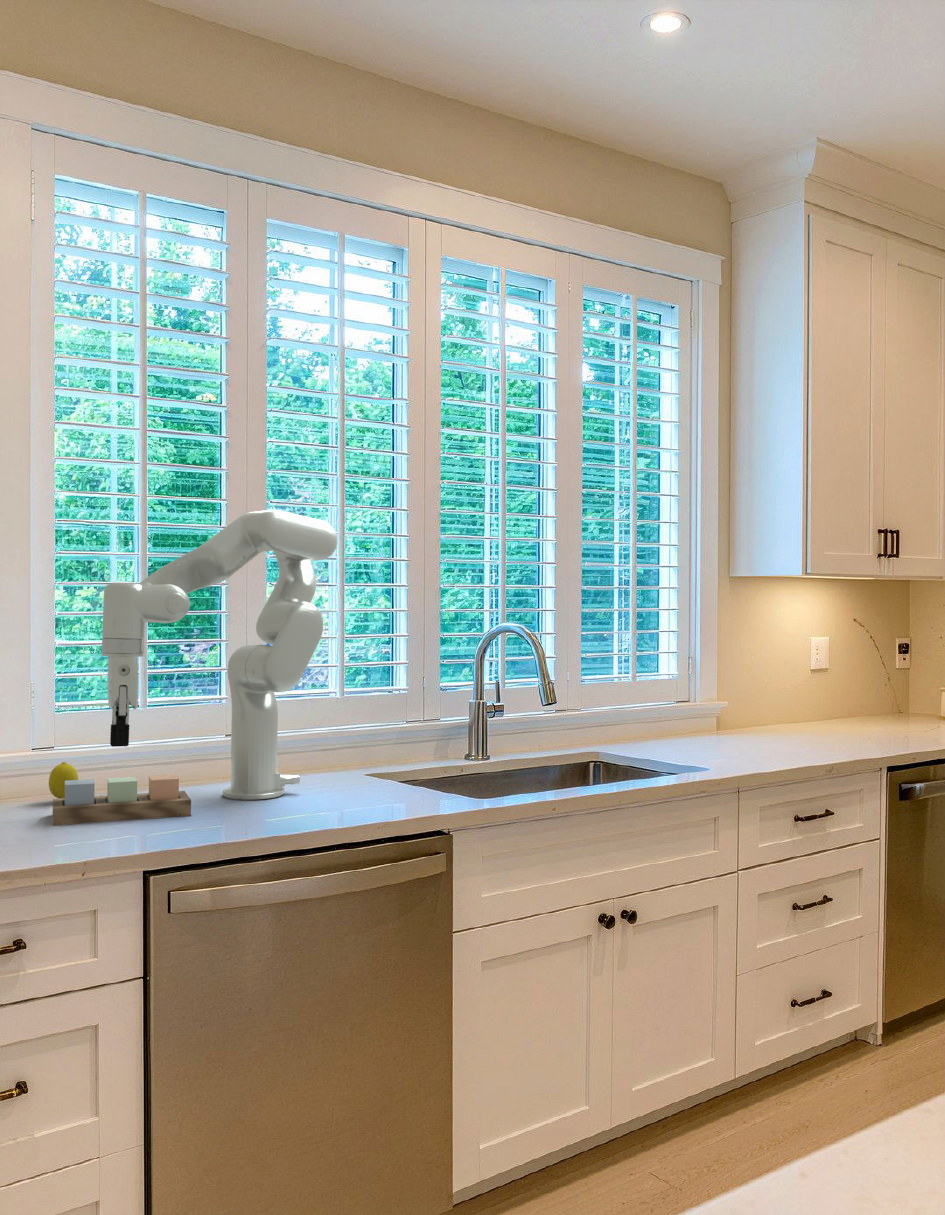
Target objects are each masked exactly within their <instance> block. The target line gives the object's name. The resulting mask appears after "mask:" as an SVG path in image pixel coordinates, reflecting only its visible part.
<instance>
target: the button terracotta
mask: <svg viewBox="0 0 945 1215" xmlns="http://www.w3.org/2000/svg"><path fill="white" fill-rule="evenodd" d="M179 787H180V779H179V777H178V775H177V774H165V775H149V776H148V793H149V800H164V799H179V791H180V790H179V789H180V788H179Z"/></svg>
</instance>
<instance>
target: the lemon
mask: <svg viewBox="0 0 945 1215" xmlns="http://www.w3.org/2000/svg"><path fill="white" fill-rule="evenodd" d="M67 780H79V774H78V771H77V770H76V768H75V767H74V766H73V765H72V764H69V763H68V762H66V761H62V762H61V763H60V764H58V765H56V766H55V767H54V768H53V769H52V770H51V771H50V774H49V777H48V789H49V791H50V794H51V795H53V797H54V798H56V799H57V798H65V781H67Z"/></svg>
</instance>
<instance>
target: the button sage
mask: <svg viewBox="0 0 945 1215" xmlns="http://www.w3.org/2000/svg"><path fill="white" fill-rule="evenodd" d="M106 780H107V782H106V783H107V789H106V790H107V793H106V794H107V795H106V796H107V803H116V802H132V801H137V794H138V780H137V777H136V776H126V777H108V778H107V779H106Z"/></svg>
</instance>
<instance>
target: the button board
mask: <svg viewBox="0 0 945 1215" xmlns="http://www.w3.org/2000/svg"><path fill="white" fill-rule="evenodd" d="M177 817H178V818H179V817H192V799H191V798H190V796H189V794H188V793H187V792H186V791H185V790H179V799H164V800H149V792H144V793H137V801H132V802H116V803H107V795H94V804H85V805H69V806H65V798H57V797H56V798H52V826H62V825H64V826H65V825H75V824H76V825H77V824H78V825H79V824H94V823H107V822H120V821H134V820H135V821H137V820H147V819H148V820H150V819H151V820H152V819H164V818H177Z"/></svg>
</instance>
